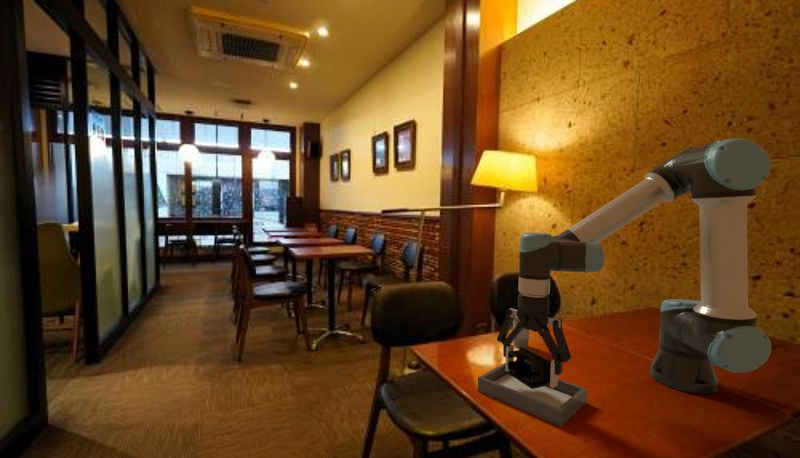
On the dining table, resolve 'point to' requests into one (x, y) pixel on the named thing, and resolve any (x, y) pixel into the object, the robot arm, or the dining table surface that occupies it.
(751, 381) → the dining table surface
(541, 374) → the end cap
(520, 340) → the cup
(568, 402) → the shallow grey tray
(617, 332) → the dining table surface
